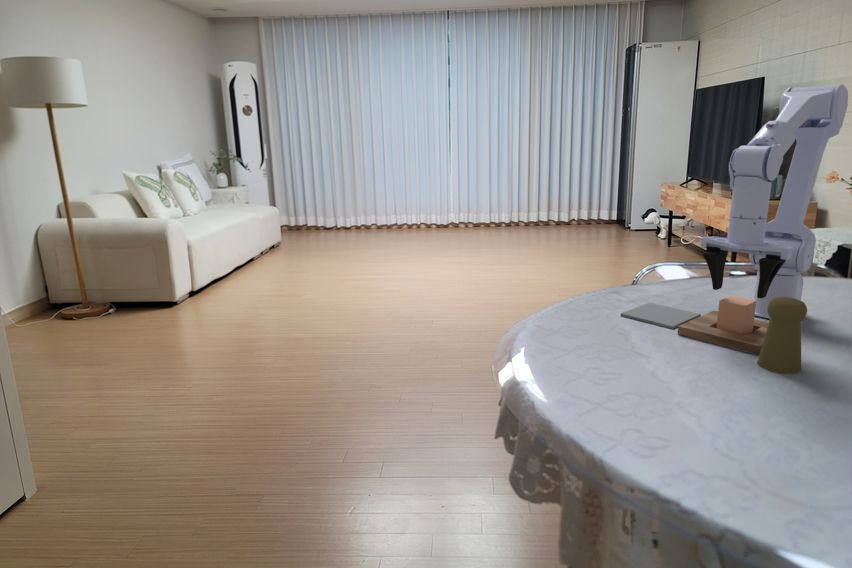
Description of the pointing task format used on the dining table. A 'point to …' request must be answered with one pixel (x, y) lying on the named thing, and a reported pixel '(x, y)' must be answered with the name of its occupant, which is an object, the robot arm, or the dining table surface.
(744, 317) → the block
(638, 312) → the mat
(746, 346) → the holder
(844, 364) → the dining table surface
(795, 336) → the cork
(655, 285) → the dining table surface
